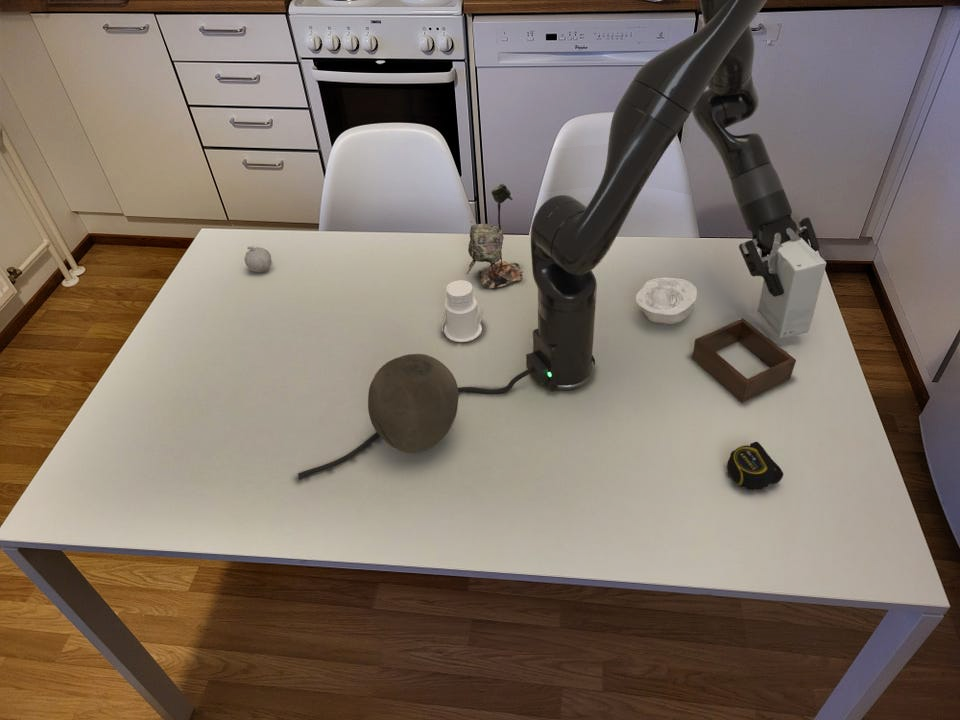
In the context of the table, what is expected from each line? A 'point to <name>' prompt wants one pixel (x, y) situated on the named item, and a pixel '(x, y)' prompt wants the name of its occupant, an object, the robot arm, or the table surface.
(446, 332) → the downlight
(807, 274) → the cosmetic box
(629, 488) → the table surface
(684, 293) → the cell model
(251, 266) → the garlic
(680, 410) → the table surface
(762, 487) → the tape measure
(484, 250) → the plant with pod
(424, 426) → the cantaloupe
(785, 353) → the crate
